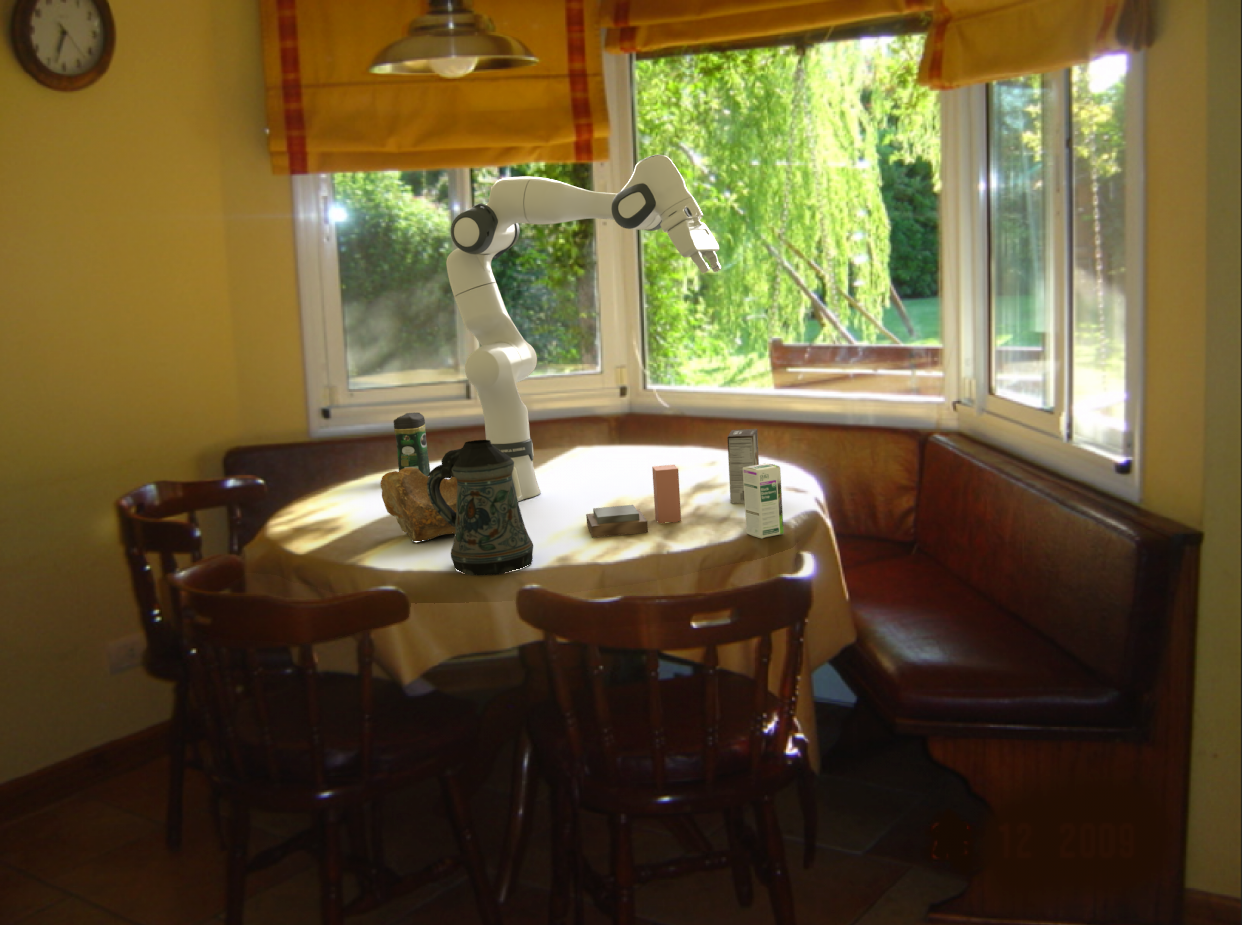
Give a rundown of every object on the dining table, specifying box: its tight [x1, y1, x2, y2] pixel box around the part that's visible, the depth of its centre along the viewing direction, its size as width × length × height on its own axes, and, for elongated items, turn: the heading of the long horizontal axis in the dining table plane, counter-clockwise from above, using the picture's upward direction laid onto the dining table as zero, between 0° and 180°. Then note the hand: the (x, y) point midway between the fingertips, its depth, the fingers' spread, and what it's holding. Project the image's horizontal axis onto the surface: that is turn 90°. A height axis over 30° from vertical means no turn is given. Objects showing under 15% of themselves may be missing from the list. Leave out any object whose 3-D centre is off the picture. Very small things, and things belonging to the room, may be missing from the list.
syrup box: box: [743, 462, 784, 539], centre depth 247 cm, size 6×6×14 cm
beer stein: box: [427, 439, 534, 577], centre depth 235 cm, size 16×19×25 cm
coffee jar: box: [393, 412, 431, 477], centre depth 331 cm, size 10×8×19 cm
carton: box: [651, 464, 682, 524], centre depth 264 cm, size 5×5×12 cm
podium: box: [585, 504, 649, 538], centre depth 260 cm, size 12×12×4 cm
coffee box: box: [726, 428, 760, 504], centre depth 280 cm, size 9×6×16 cm
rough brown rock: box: [379, 467, 457, 541], centre depth 263 cm, size 23×17×15 cm
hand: (712, 271), depth 272 cm, fingers open, 8 cm apart
